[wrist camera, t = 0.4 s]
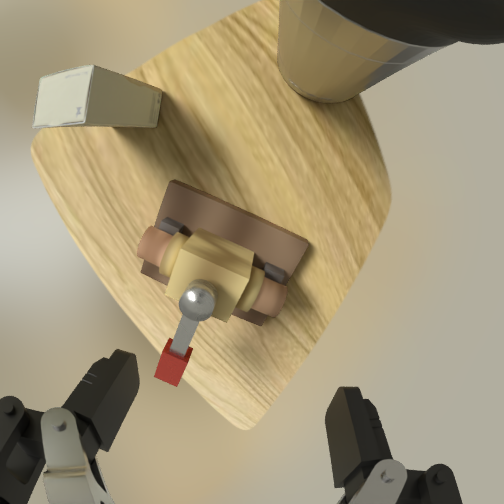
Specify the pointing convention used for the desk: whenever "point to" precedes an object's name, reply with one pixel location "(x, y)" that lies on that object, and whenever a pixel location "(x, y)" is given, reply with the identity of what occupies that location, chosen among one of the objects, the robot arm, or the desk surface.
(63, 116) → the skincare box
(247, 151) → the desk surface
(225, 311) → the valve rig
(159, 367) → the valve lever
